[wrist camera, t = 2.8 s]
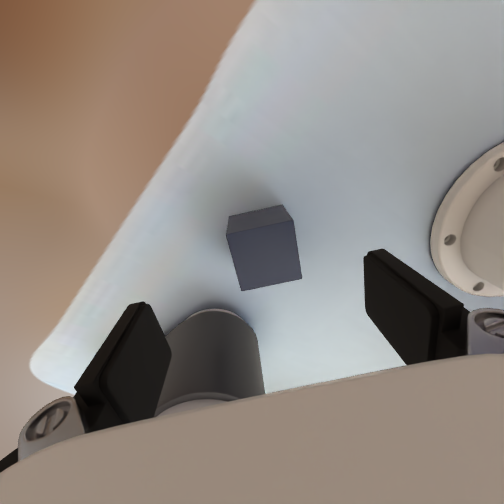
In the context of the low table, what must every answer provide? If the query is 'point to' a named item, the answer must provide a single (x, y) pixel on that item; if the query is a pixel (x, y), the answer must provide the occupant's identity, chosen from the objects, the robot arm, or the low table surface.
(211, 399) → the light fixture
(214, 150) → the low table surface
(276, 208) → the block
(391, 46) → the low table surface
